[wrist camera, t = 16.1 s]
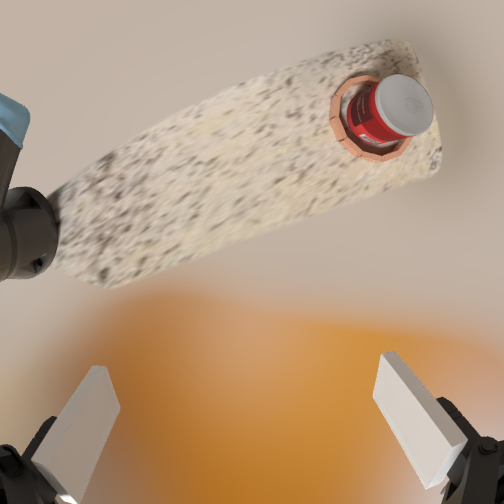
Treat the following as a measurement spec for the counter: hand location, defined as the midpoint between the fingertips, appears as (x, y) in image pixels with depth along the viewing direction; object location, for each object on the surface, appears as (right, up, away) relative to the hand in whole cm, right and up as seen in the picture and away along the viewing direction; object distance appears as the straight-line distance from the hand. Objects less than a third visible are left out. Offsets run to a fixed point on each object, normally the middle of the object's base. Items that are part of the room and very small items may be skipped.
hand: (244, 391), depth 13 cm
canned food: (+17, +25, +26) cm, 40 cm away
